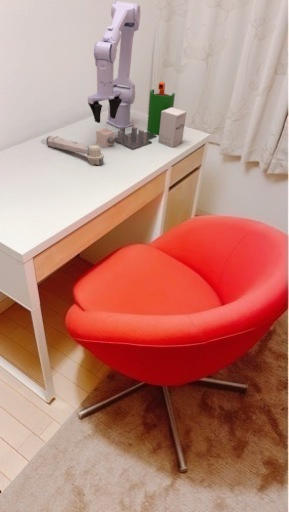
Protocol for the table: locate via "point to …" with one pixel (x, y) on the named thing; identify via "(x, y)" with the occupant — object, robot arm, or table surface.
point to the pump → (105, 137)
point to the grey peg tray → (133, 138)
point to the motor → (158, 108)
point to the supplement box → (172, 126)
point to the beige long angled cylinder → (77, 148)
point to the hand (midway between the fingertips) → (105, 119)
